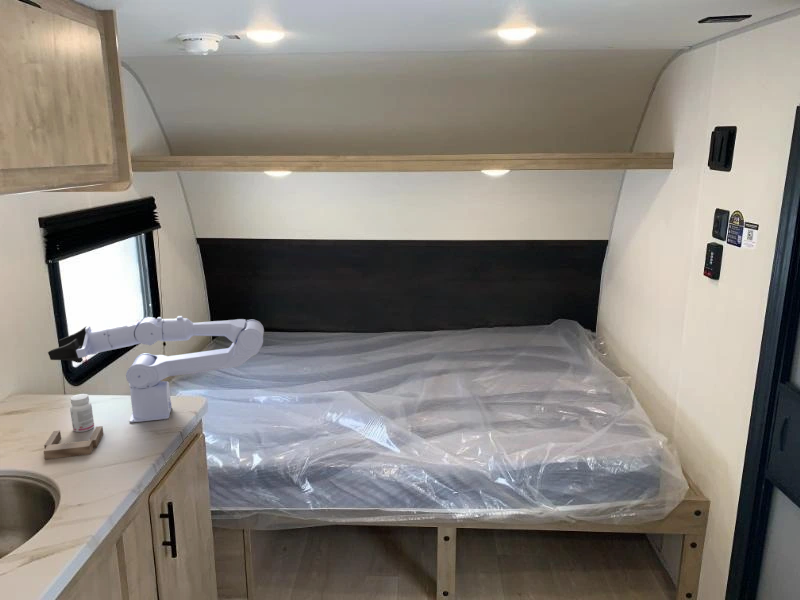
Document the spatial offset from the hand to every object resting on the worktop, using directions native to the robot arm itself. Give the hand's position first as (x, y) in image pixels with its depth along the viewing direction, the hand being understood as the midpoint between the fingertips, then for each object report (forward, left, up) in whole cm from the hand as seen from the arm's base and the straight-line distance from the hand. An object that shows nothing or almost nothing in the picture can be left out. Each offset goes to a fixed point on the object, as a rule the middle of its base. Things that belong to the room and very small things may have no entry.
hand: (54, 349), depth 151 cm
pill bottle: (-5, +5, -20) cm, 21 cm away
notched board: (-5, +15, -19) cm, 25 cm away
